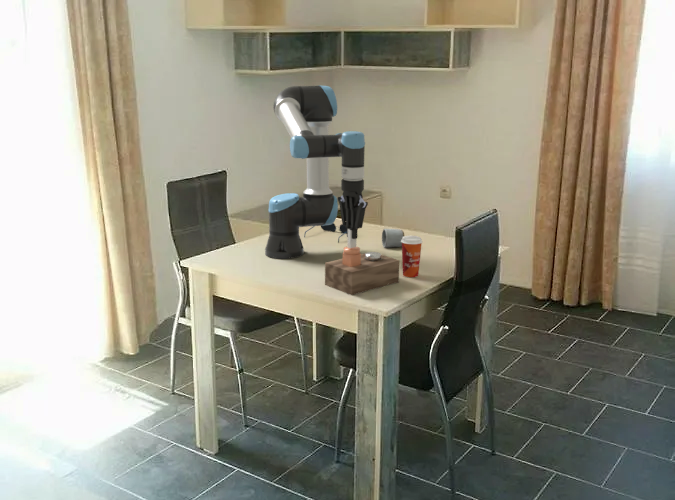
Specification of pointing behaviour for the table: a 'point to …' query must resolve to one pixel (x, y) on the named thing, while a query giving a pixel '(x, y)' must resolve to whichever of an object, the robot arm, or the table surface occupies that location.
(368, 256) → the grey button
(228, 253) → the table surface
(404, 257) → the paper cup
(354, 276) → the button console
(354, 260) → the terracotta button
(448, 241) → the table surface
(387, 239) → the ceramic mug
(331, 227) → the sunglasses
